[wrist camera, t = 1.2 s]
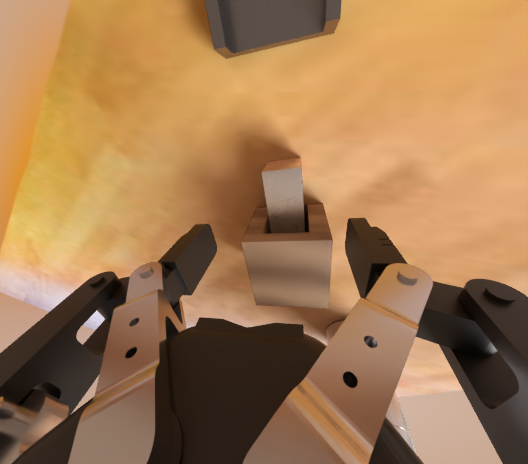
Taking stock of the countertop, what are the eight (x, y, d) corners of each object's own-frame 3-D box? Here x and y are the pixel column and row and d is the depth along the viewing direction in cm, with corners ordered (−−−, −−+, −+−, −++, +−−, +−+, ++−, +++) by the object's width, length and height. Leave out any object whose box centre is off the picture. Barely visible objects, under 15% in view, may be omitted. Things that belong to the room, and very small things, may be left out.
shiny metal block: (304, 234, 28) (306, 256, 24) (278, 236, 29) (274, 257, 24) (301, 157, 22) (301, 167, 18) (268, 161, 23) (261, 172, 19)
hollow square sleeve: (321, 261, 30) (328, 308, 23) (265, 261, 31) (256, 304, 24) (322, 203, 24) (332, 240, 17) (256, 207, 26) (240, 242, 19)
